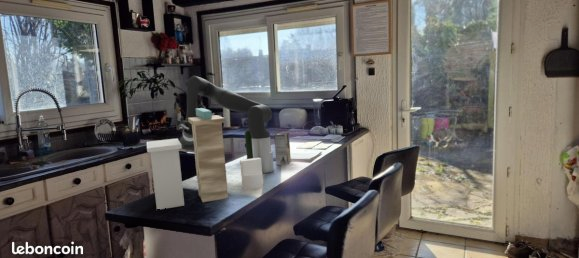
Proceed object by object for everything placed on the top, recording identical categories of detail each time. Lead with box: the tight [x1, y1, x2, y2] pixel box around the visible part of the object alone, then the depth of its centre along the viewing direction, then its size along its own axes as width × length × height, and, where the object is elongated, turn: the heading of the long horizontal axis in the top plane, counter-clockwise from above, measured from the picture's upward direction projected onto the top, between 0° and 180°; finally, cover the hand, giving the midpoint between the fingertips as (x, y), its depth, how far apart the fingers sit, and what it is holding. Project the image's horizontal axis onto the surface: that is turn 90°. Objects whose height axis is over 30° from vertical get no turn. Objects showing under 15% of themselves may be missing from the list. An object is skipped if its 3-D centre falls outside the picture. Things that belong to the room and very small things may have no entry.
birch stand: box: [188, 114, 229, 203], centre depth 158 cm, size 18×12×32 cm, turn 20°
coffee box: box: [273, 132, 292, 166], centre depth 212 cm, size 9×6×16 cm
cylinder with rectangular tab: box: [239, 158, 264, 190], centre depth 170 cm, size 9×9×12 cm
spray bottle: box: [244, 117, 253, 159], centre depth 227 cm, size 10×10×25 cm
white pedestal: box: [146, 138, 185, 210], centre depth 153 cm, size 18×12×24 cm, turn 20°
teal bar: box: [196, 107, 213, 120], centre depth 161 cm, size 24×3×3 cm, turn 20°
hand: (192, 117), depth 181 cm, fingers open, 8 cm apart
